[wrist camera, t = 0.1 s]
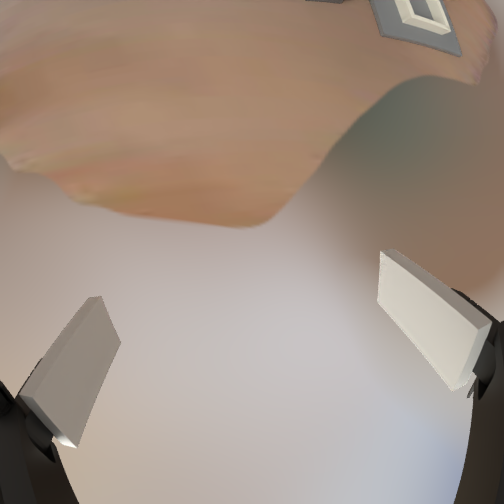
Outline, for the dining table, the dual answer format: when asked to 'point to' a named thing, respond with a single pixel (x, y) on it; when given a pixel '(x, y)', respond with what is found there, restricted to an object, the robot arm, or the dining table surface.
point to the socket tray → (417, 23)
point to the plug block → (331, 0)
